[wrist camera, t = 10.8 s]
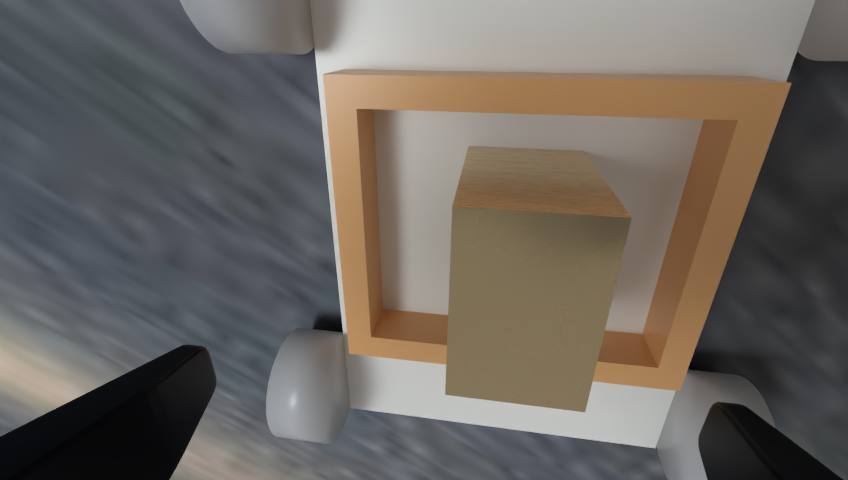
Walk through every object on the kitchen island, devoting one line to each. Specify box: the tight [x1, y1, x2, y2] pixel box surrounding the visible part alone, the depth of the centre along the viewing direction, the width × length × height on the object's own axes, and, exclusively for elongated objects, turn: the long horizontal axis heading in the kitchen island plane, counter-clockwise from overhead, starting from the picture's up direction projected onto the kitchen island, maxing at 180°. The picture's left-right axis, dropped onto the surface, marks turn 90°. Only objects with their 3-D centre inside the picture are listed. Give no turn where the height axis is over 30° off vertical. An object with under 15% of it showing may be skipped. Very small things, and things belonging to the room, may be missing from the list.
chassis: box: [180, 0, 848, 480], centre depth 15 cm, size 22×20×5 cm
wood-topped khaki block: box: [445, 146, 632, 412], centre depth 14 cm, size 4×6×6 cm, turn 0°
